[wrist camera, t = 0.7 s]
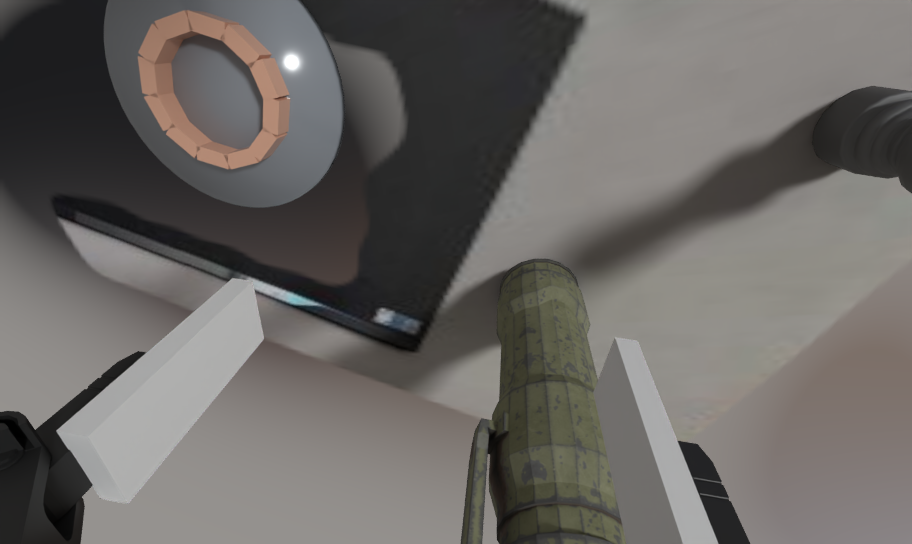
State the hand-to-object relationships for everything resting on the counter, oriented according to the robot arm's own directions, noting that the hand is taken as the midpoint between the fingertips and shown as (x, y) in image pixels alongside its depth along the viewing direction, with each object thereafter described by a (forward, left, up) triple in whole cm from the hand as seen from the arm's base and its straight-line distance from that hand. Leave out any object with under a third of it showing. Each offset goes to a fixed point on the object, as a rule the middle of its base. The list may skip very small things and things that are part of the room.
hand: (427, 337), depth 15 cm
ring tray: (+2, -24, -27) cm, 36 cm away
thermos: (+13, +11, -27) cm, 32 cm away
